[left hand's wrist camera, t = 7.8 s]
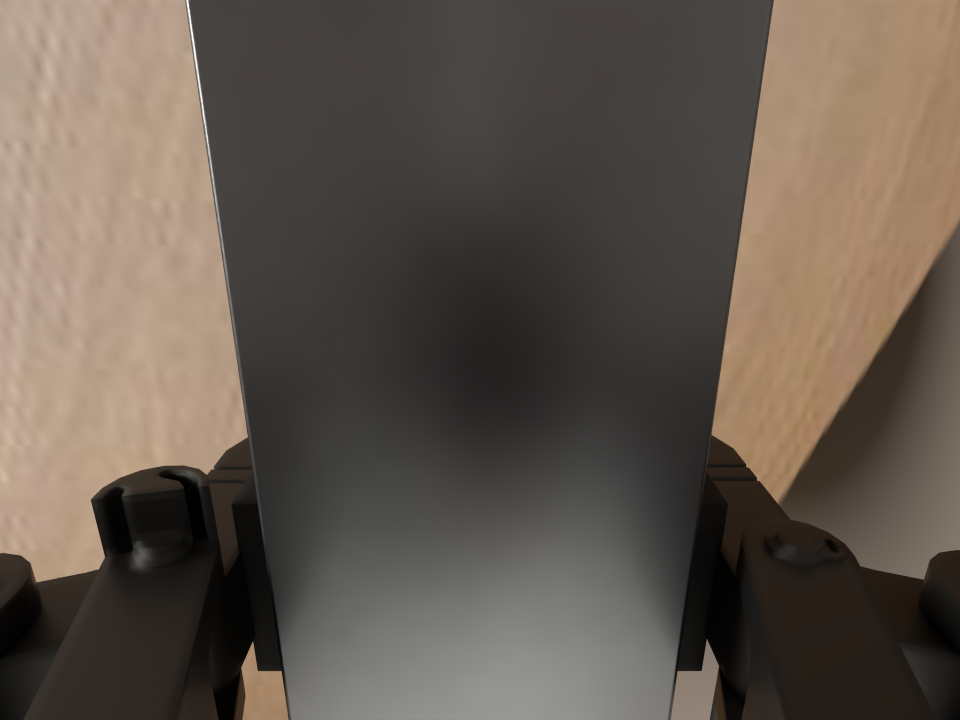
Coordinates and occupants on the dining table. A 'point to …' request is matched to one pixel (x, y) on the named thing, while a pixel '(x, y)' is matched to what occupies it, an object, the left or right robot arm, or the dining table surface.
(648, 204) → the bar
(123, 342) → the dining table surface
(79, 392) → the dining table surface
